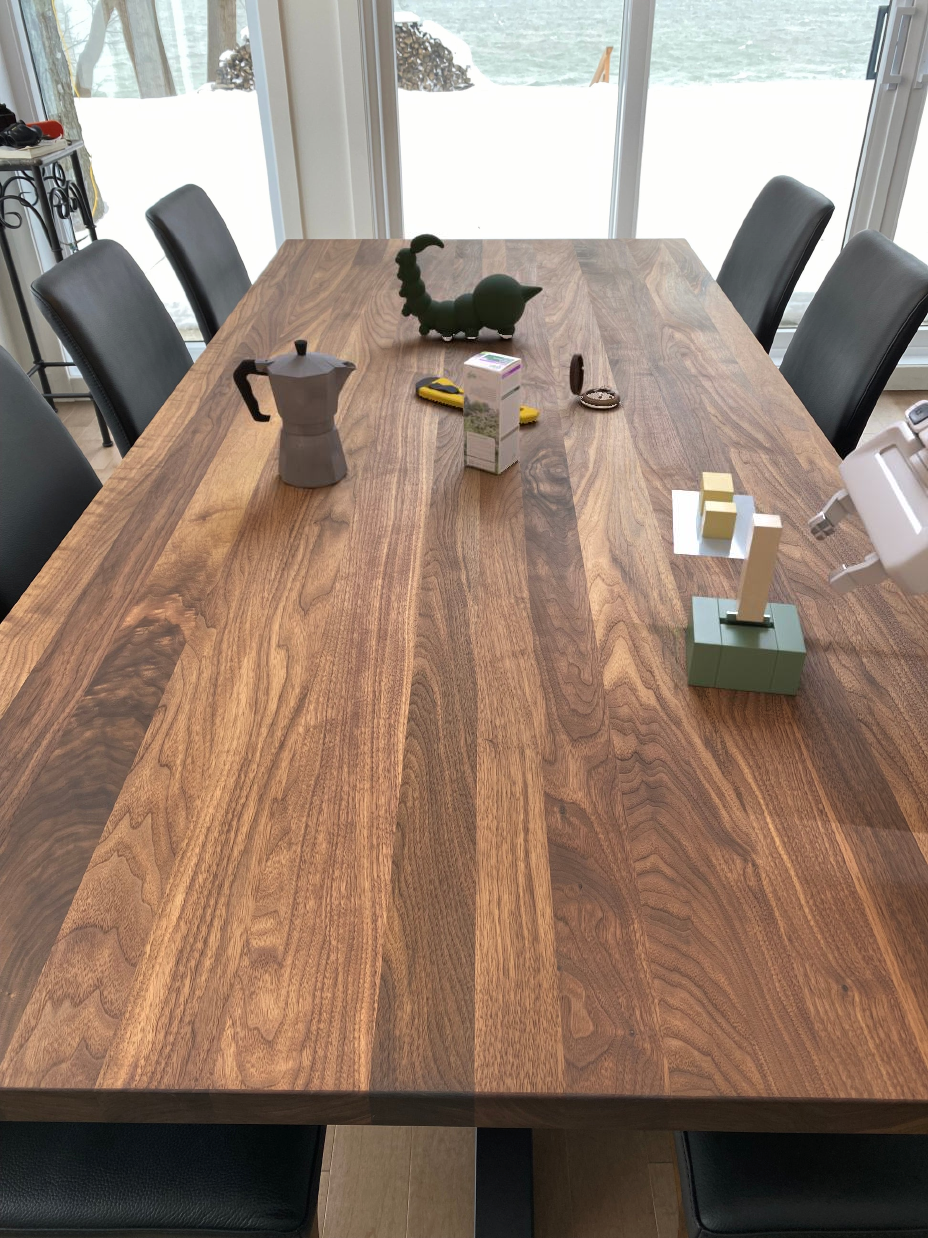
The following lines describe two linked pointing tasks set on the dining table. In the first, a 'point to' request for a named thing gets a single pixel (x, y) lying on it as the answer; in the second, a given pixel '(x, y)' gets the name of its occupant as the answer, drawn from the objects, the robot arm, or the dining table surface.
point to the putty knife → (757, 572)
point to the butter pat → (718, 520)
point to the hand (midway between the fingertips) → (822, 558)
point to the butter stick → (715, 488)
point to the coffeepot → (302, 412)
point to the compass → (576, 387)
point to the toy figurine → (460, 299)
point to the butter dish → (690, 527)
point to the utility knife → (458, 396)
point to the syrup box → (491, 411)
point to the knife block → (744, 649)
